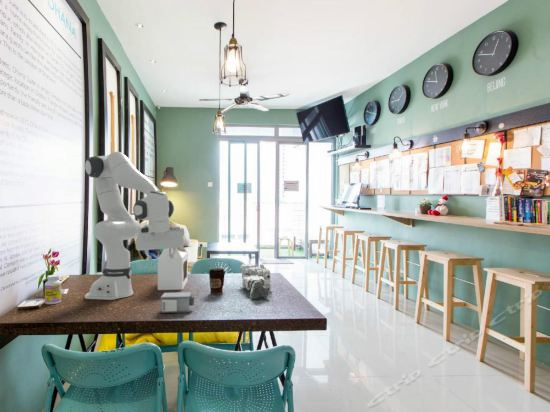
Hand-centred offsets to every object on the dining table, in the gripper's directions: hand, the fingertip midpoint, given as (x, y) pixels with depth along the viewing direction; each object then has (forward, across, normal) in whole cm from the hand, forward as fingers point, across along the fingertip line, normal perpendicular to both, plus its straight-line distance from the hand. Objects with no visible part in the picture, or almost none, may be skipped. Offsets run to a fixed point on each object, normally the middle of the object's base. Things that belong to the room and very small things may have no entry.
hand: (161, 259), depth 158 cm
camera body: (+23, -5, 0) cm, 24 cm away
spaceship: (+26, -48, -23) cm, 59 cm away
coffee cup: (+24, -26, -25) cm, 44 cm away
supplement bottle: (+21, +51, -27) cm, 61 cm away
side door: (+22, -3, +4) cm, 23 cm away
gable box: (+23, -4, -49) cm, 55 cm away
